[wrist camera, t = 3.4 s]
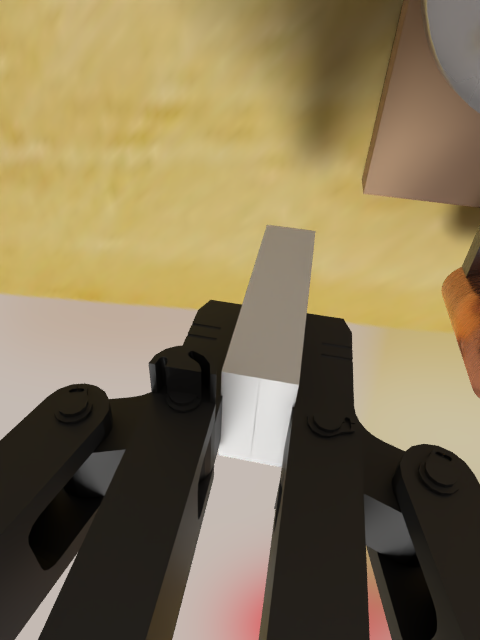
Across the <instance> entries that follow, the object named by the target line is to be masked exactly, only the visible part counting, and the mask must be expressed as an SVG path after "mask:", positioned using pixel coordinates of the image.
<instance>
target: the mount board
mask: <svg viewBox="0 0 480 640" xmlns="http://www.w3.org/2000/svg"><path fill="white" fill-rule="evenodd" d="M362 185H363V194H370V195H379V196H387V197H396V198H404V199H412V200H421V201H429V202H437V203H446V204H454V205H462V206H471V207H479V208H480V113H478V112H477V111H476V110H474V109H473V108H472V107H470V106H469V105H468V104H467V103H466V102H465V101H464V100H463V99H462V98H461V97H460V96H459V95H458V94H457V93H456V92H455V91H454V90H453V89H452V88H451V87H450V86H449V84H448V83H447V81H446V80H445V78H444V77H443V75H442V74H441V72H440V71H439V69H438V67H437V65H436V63H435V61H434V59H433V56H432V54H431V52H430V49H429V45H428V42H427V39H426V35H425V32H424V25H423V19H422V12H421V0H403V5H402V9H401V13H400V18H399V22H398V26H397V31H396V35H395V39H394V44H393V48H392V52H391V57H390V61H389V65H388V70H387V74H386V78H385V83H384V87H383V91H382V96H381V100H380V104H379V109H378V113H377V117H376V122H375V126H374V130H373V135H372V139H371V143H370V147H369V152H368V156H367V160H366V165H365V169H364V173H363V178H362Z"/></svg>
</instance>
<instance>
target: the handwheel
mask: <svg viewBox="0 0 480 640" xmlns="http://www.w3.org/2000/svg"><path fill="white" fill-rule="evenodd" d="M421 12H422V19H423V25H424V32H425V35H426V39H427V42H428V45H429V49H430V52H431V54H432V56H433V59H434V61H435V63H436V65H437V67H438V69H439V71H440V72H441V74H442V75H443V77H444V78H445V80H446V81H447V83H448V84H449V86H450V87H451V88H452V89H453V90H454V91H455V92H456V93H457V94H458V95H459V96H460V97H461V98H462V99H463V100H464V101H465V102H466V103H467V104H468V105H469V106H470V107H472V108H473V109H474V110H476V111H477V112H478V113H480V0H421ZM442 296H443V299H444V302H445V305H446V308H447V311H448V314H449V317H450V320H451V324H452V327H453V330H454V333H455V336H456V339H457V342H458V345H459V348H460V351H461V354H462V357H463V360H464V364H465V367H466V369H467V373H468V376H469V379H470V382H471V385H472V388H473V391H474V392H475V394H476V395H477V396H478V397H479V398H480V226H479V228H478V231H477V233H476V235H475V238H474V240H473V242H472V245H471V247H470V249H469V252H468V254H467V256H466V258H465V261H464V263H463V265H462V267H461V268H459V269H457V270H455V271H454V272H452V273H451V274H450V275H449V276H448V277H447V278H446V279H445V281H444V283H443V286H442Z"/></svg>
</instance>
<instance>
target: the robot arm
mask: <svg viewBox="0 0 480 640" xmlns="http://www.w3.org/2000/svg"><path fill="white" fill-rule="evenodd" d="M314 239H315V231H311V230H304V229H296V228H288V227H281V226H273V225H267V227H266V230H265V233H264V236H263V240H262V243H261V246H260V249H259V252H258V256H257V259H256V262H255V265H254V269H253V272H252V275H251V278H250V281H249V285H248V288H247V291H246V294H245V298H244V301H243V304H242V305H241V304H234V303H228V302H221V301H215V300H210V301H209V302H208V303H206V304H205V305H204V306H203V307H201V308H200V309H199V310H198V312H197V314H196V316H195V319H194V321H193V324H192V326H191V328H190V330H189V332H188V336H187V337H186V339H185V342H184V344H183V346H176V347H172V348H168V349H165V350H163V351H161V352H160V353H158V354H156V355H155V356H154V357H153V359H152V360H151V361H150V362H149V370H150V380H151V388H152V392H150V393H147V394H145V395H142V396H137V397H129V398H119V399H108V397H107V395H106V393H105V392H104V391H103V390H101V389H100V388H99V387H97V386H94V385H89V384H73V385H69V386H67V387H64V388H61V389H59V390H57V391H55V392H54V393H52V394H51V395H50V396H48V397H47V398H46V399H45V400H44V401H43V402H42V403H40V404H39V405H38V406H37V407H36V408H35V409H34V410H33V411H32V412H31V413H30V414H28V416H26V417H25V418H24V419H23V420H22V421H21V422H20V423H19V424H18V425H17V426H16V427H14V428H13V429H12V430H11V431H10V432H9V433H8V434H7V435H6V436H5V437H4V438H3V439H1V440H0V640H15V638H16V637H17V636H18V634H19V633H20V631H21V630H22V629H23V627H24V626H25V624H26V623H27V622H28V620H29V619H30V618H31V616H32V615H33V614H34V612H35V611H36V609H37V608H38V606H39V605H40V604H41V602H42V601H43V600H44V598H45V597H46V596H47V594H48V593H49V591H50V590H51V589H52V587H53V586H54V585H55V583H56V582H57V580H58V579H59V577H60V576H61V575H62V574H63V572H64V571H65V569H66V568H67V567H68V565H69V564H70V562H71V561H72V560H73V558H74V557H75V556H76V554H77V553H78V554H77V556H76V558H75V560H74V563H73V565H72V567H71V569H70V571H69V573H68V576H67V578H66V580H65V582H64V584H63V587H62V589H61V591H60V593H59V595H58V597H57V600H56V602H55V604H54V606H53V608H52V610H51V613H50V615H49V617H48V619H47V621H46V623H45V626H44V628H43V630H42V632H41V634H40V636H39V639H38V640H172V638H173V634H174V630H175V626H176V622H177V618H178V615H179V611H180V607H181V603H182V599H183V595H184V591H185V587H186V583H187V580H188V576H189V572H190V567H191V564H192V560H193V556H194V552H195V548H196V544H197V540H198V537H199V533H200V529H201V525H202V521H203V517H204V513H205V509H206V505H207V501H208V498H209V494H210V490H211V486H212V482H213V477H214V463H215V459H216V455H217V451H218V448H219V452H218V455H221V456H225V457H230V458H236V459H241V460H246V461H251V462H257V463H261V464H267V465H272V466H277V467H282V471H281V478H280V483H279V488H278V493H277V498H276V503H275V508H274V509H276V510H275V518H274V525H273V534H272V541H271V548H270V556H269V564H268V572H267V579H266V587H265V595H264V603H263V611H262V618H261V626H260V634H259V640H369V615H368V614H369V613H368V590H367V564H366V546H367V550H368V553H369V557H370V561H371V565H372V568H373V572H374V575H375V579H376V583H377V587H378V590H379V594H380V598H381V601H382V605H383V609H384V612H385V616H386V620H387V623H388V627H389V630H390V634H391V638H392V640H480V484H479V482H478V480H477V479H476V477H475V475H474V474H473V472H472V471H471V469H470V468H469V467H468V465H467V464H466V463H465V462H464V461H463V460H462V459H460V458H459V457H458V456H457V455H455V454H454V453H453V452H451V451H448V450H446V449H444V448H442V447H439V446H435V445H428V444H421V445H416V446H412V447H410V448H409V449H408V450H407V451H403V450H401V449H398V448H396V447H394V446H392V445H389V444H387V443H385V442H383V441H382V440H380V439H378V438H376V437H375V436H373V435H372V434H371V433H370V432H368V431H367V430H366V429H365V428H364V427H363V425H362V424H361V423H360V422H359V420H358V418H357V416H356V414H355V409H354V393H353V362H352V359H353V357H352V332H351V331H350V329H349V327H348V326H347V324H346V322H345V321H344V319H341V318H334V317H328V316H321V315H314V314H308V313H307V305H308V296H309V286H310V277H311V267H312V258H313V249H314ZM78 551H79V552H78Z"/></svg>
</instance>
